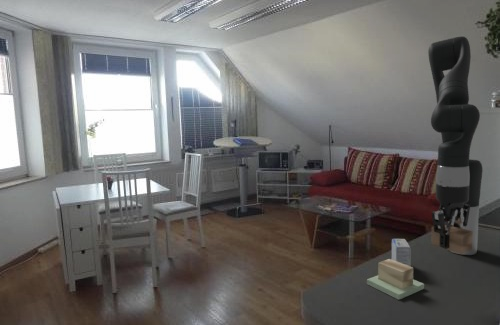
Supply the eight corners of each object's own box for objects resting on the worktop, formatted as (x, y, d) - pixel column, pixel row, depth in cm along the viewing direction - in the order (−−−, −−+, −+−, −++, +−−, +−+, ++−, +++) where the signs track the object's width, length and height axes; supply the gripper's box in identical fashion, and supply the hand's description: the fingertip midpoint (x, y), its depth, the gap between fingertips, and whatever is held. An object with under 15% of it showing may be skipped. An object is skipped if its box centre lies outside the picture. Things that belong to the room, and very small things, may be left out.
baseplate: (391, 274, 111) (391, 270, 110) (423, 288, 101) (424, 283, 101) (366, 284, 105) (366, 279, 105) (399, 299, 96) (399, 294, 95)
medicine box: (410, 273, 111) (411, 247, 110) (395, 273, 112) (396, 246, 111) (405, 263, 119) (405, 238, 117) (391, 262, 119) (391, 238, 118)
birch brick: (388, 274, 108) (389, 258, 107) (412, 284, 101) (413, 267, 100) (378, 278, 105) (378, 262, 104) (402, 289, 98) (402, 272, 98)
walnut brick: (441, 240, 98) (442, 223, 98) (471, 249, 92) (472, 231, 91) (431, 244, 96) (431, 227, 95) (461, 254, 89) (461, 235, 88)
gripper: (453, 177, 98) (451, 235, 101) (422, 184, 91) (420, 247, 93) (482, 180, 92) (479, 243, 94) (451, 188, 85) (448, 256, 87)
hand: (450, 244), depth 94 cm, fingers closed on walnut brick, 5 cm apart
